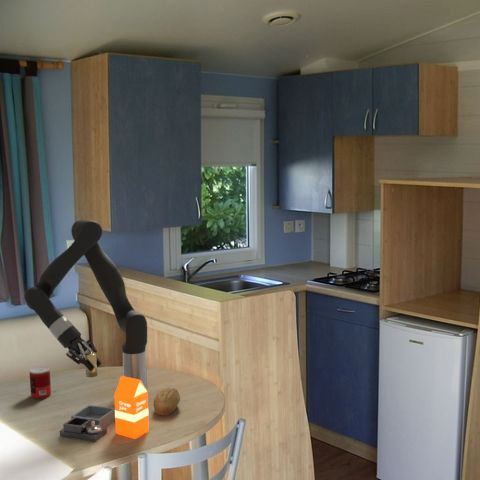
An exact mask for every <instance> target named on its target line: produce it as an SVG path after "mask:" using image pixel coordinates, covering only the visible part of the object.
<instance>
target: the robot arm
mask: <svg viewBox="0 0 480 480" xmlns="http://www.w3.org/2000/svg"><path fill="white" fill-rule="evenodd" d="M70 233H71V236H72V239H73V240H74V241H73V242H72V243H71V245H70V246H69V247H67V249H65V250H64V252H62V253H60V254H59V255H58V256H57V257H55V259H54V260H52V261H51V263H50V264H49V265H48V266H47V267H46V268H45V270H44V271H43V272H42V274H41V275H40V277H39V280H38V283H37V284H36V285H35V286H32V287H30V288H28V289H27V290H26V291H25V293H24V301H25V304H26V306H27V307H28V308H29V309H30V310H32V311H34V312H35V313H36V315H37V316H39V318H40V321H42V324H43V325H45V327H46V328H47V329H48V330H49V331H50V333H51V334H52V336H53V337H54V338H55V339H56V340H57V341H58V342H59V344H60V345H62V347H63V348H64V349H68V351H67V352H66V354H65V355H66V356H67V358H69V359H70V360H72V361H73V362H74V363H76V364H77V365H84V366H85V368H86V367H87V369H88V370H90V371H92V370H93V369H94V368H95V366H94V365H93V364H92V363H91V362H90V361H89V360H87V357H86V356H85V354H86V353H89V352H95V353H96V354H97V353H98V351H97V349H96V347H95V345H94V344H93V342H92V341H91V339H87V340H84V339H83V338H82V337H81V336H82V333H81V332H80V330H78V329H77V328H76V327H75V325H74V324H73V323H72V322H71V321H70V320H69V319H68V318H67V317H66V316H65V315H64V314H63V313H62V312H61V310H59V309H58V308H57V307H56V306H55V305H54V303H53V302H52V300H51V298H50V297H52V294H53V293H54V292H55V289H56V288H57V287H58V286H59V285H60V283H61V282H62V281H63V279H64V278H65V277H66V276H67V274H68V273H69V272H70V270H72V268H73V267H74V266H75V264H77V262H78V261H80V259H81V258H82V257H83V256H84V257H85V259H86V261H87V263H88V265H89V267H90V269H91V272H92V273H93V275H94V277H95V279H96V282H97V284H98V285H99V288H100V290H102V293H103V295H104V296H105V298H106V300H107V301H108V303H109V305H110V306H111V308H112V310H113V313H114V317H115V319H116V321H117V325H118V327H119V328H120V329H121V331H122V332H124V333H125V342H124V343H123V344H122V350H121V351H122V369H123V370H122V371H123V374H122V376H125V377H130V378H134V379H139V380H140V381H141V382H142V384H143V385H144V387H145V388H146V390H147V391H148V370H147V369H148V368H147V354H146V353H147V352H146V346H147V344H148V322H147V319H146V317H145V316H144V315H143V314H141V313H140V312H137V311H136V310H135V309H134V307H133V305H132V304H131V302H130V301H129V299H128V296H127V293H126V286H125V285H126V284H125V281H124V279H123V276H122V274H121V272H120V270H119V268H118V266H117V265H116V264H115V263H114V261H113V260H112V259H111V258H110V256H108V255H107V254H106V253H105V251H104V250H103V248H102V247H101V245H100V244H99V241H100V240H101V239H102V236H103V228H102V226H101V224H100V223H99V222H97V221H96V220H91V219H79V220H76V221H75V222H74V223H73V224H72V225H71V232H70ZM101 365H102V361H101V360H100V358H98V357H97V368H98V367H100V366H101Z"/></svg>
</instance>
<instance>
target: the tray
mask: <svg viewBox="0 0 480 480" xmlns="http://www.w3.org/2000/svg"><path fill="white" fill-rule="evenodd" d="M74 417H81V418H87V419H92V421H95V425H100V426H101V427H107V426H109V425H110V424H112V423H113V422H114V421H115V407H114V408H113V407H107V406H100V405H93V404H88V405H87V406H84V407H83V408H82V409H80V410H79V411H77V412H76V413H74V414H72V415H71V417H70V418H71V419H72V418H74ZM71 419H70V420H71Z"/></svg>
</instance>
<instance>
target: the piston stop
mask: <svg viewBox="0 0 480 480" xmlns="http://www.w3.org/2000/svg"><path fill="white" fill-rule="evenodd" d="M85 356H86V357H87V360H89V361H90V362H91V363H92V364H93V365H94V366H95V368H94V369H93V370H92V371H90V370H88V369H87V367H86V366H85V377H87V378H95V377H98V367H97V358H98V357H97V353H95V352H89V353H86V354H85Z"/></svg>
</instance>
